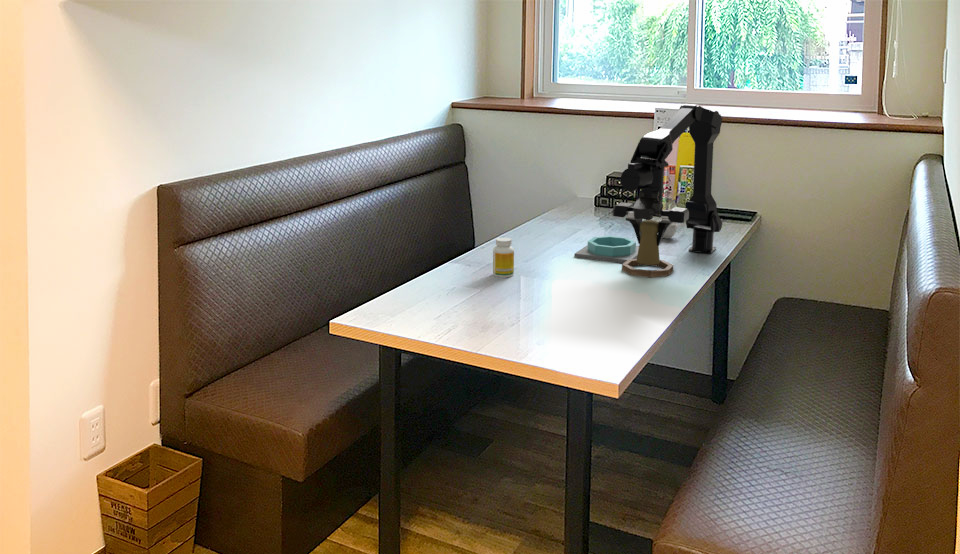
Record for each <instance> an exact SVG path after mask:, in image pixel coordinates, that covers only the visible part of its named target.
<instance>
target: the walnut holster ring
mask: <svg viewBox="0 0 960 554" xmlns="http://www.w3.org/2000/svg"><path fill="white" fill-rule="evenodd" d="M636 260H637V259H630V260H627V261H626V262H624V263H621V270H622V271H623V272H625V273H626V274H628V275H630V276H636V277H645V278H658V277H660V278H661V277H668V276H669V275H670V274H671V273H673V272H674V267H675V266H674V264H673V263H670V262H668V261H666V260H663V259H660V263H658V264H654V265H651V266H653V267H661V269H660V268H659V269H651V270H649V269H641V268H635V267H637V266H647V265H646V264H640V263H638V262H637V261H636Z"/></svg>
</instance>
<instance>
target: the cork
mask: <svg viewBox="0 0 960 554" xmlns="http://www.w3.org/2000/svg"><path fill="white" fill-rule="evenodd" d="M658 222H659V221H657V220H653V219H651V220H646V219H643V220H642V222H641V224H640V231H641V239H640V244H639V243H638V246H639V250H638V255H637V260H636V261H637V262H638V263H640V264H646V265H645V266H652V265H654V264H658V263H660V260H661V259H660V250H659V249H660V248H659V247H660V245H659V246H657V236H658V229H659V224H658Z"/></svg>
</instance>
